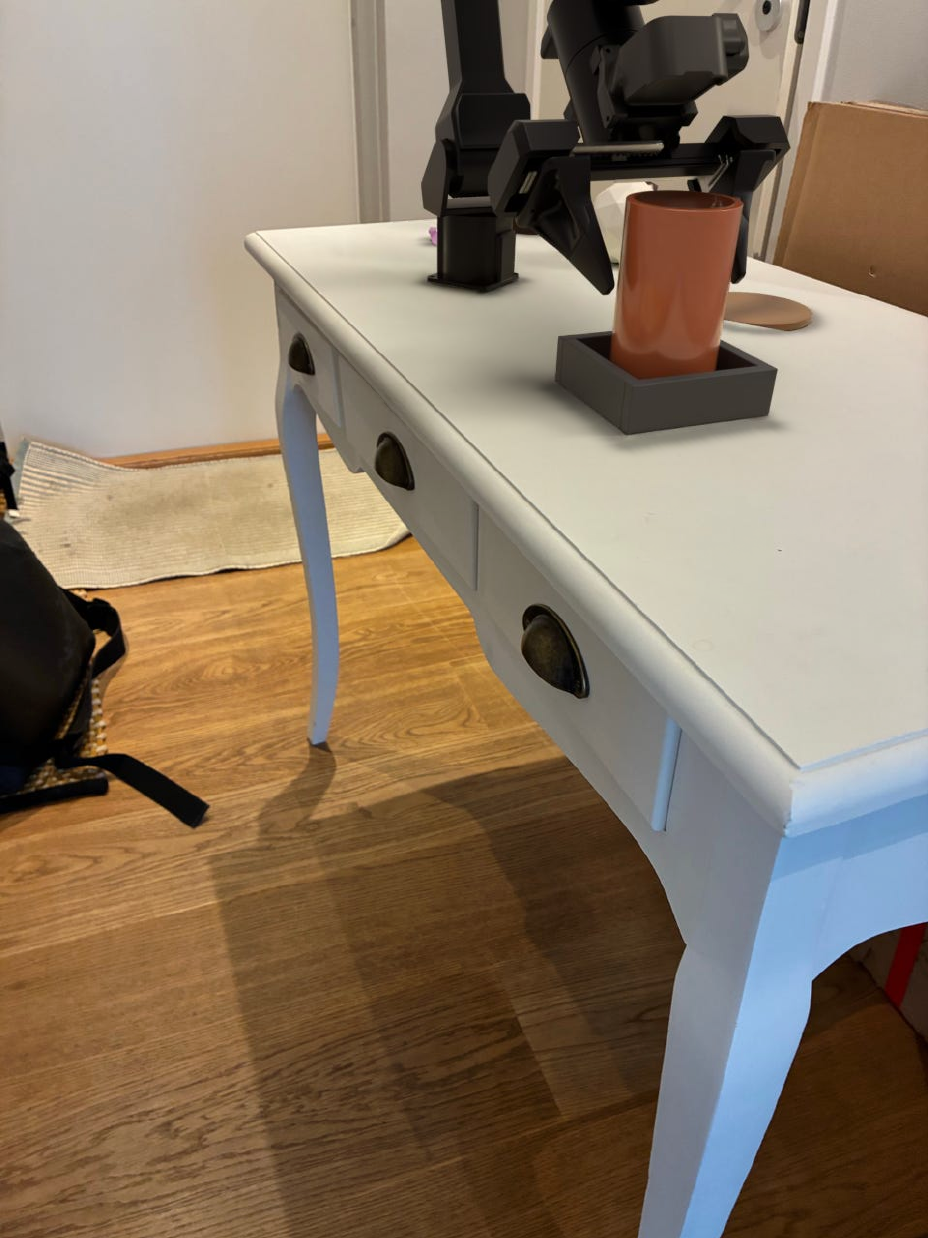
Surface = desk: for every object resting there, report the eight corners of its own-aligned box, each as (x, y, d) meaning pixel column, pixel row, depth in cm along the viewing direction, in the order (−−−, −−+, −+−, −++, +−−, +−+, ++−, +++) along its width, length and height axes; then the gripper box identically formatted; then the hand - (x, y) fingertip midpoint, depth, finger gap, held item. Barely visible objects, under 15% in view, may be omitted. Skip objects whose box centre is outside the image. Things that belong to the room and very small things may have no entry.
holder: (553, 387, 65) (557, 335, 63) (681, 372, 68) (689, 322, 66) (625, 444, 57) (632, 386, 55) (767, 423, 60) (778, 368, 58)
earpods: (442, 257, 102) (455, 246, 102) (438, 248, 101) (451, 237, 101) (427, 241, 104) (440, 230, 103) (422, 232, 102) (435, 221, 102)
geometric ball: (608, 293, 96) (570, 229, 91) (613, 247, 101) (577, 185, 96) (678, 261, 92) (643, 193, 87) (680, 216, 97) (646, 148, 92)
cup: (587, 400, 61) (606, 200, 54) (631, 372, 66) (653, 184, 59) (687, 423, 58) (719, 214, 51) (725, 392, 63) (759, 197, 56)
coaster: (673, 317, 80) (674, 310, 79) (714, 292, 87) (715, 285, 86) (790, 338, 75) (792, 331, 75) (824, 310, 82) (826, 303, 82)
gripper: (513, -51, 50) (590, 210, 47) (804, -41, 56) (887, 193, 53) (460, 104, 60) (520, 325, 58) (709, 100, 66) (774, 301, 63)
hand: (675, 285), depth 58 cm, fingers open, 9 cm apart
